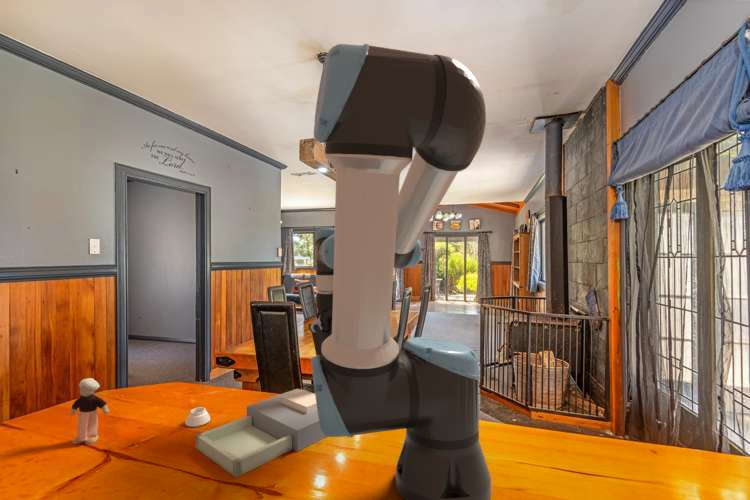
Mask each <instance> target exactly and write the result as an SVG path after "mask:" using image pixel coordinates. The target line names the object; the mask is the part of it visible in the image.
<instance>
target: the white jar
mask: <svg viewBox="0 0 750 500" xmlns="http://www.w3.org/2000/svg"><path fill="white" fill-rule="evenodd" d="M210 421H211V416H210V414H209V412H208V411H207V410H206V407H199V406H198V407H195V408H193V409H191V410H190V412H189V414H188V415H187V418H186V420H185V425H186V426H187V427H193V428H195V427H200V426H201V427H202V426H204V425H206V424H207V423H209V422H210Z"/></svg>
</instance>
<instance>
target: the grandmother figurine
mask: <svg viewBox="0 0 750 500" xmlns="http://www.w3.org/2000/svg"><path fill="white" fill-rule="evenodd" d="M78 387H79V394H80V396H79V397H78V398H76V399H75V400H74V402H73V403H72V406H71V409H70V411H69V415H70V416H75V415H76V414H77V411H78V410H79V411H78V415H77V430H76V432H77V433H76V437H75V438H74V439H72V441H71V445H77V444H81V443H83V442H84V444H86V445H87V444H88V445H89V444H90V445H91V444H94V443H95V442H97V441H98V440H99V439H100V436H99V435H98V428H99V419H98V409H101V410H102V414H103V415H107V414H109V413H110V410H109V408H108V405H107V404H108V403H107V401H105V400H104V399H103V398H102V397H99V396H98V395H96V394H95V393H96V391H97V390H98V389H99V388H101V387H100V384H99V382H98V381H97V380H95V379H94V378H91V377H90V378H83V379H82V380H80V382H79V384H78Z"/></svg>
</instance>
